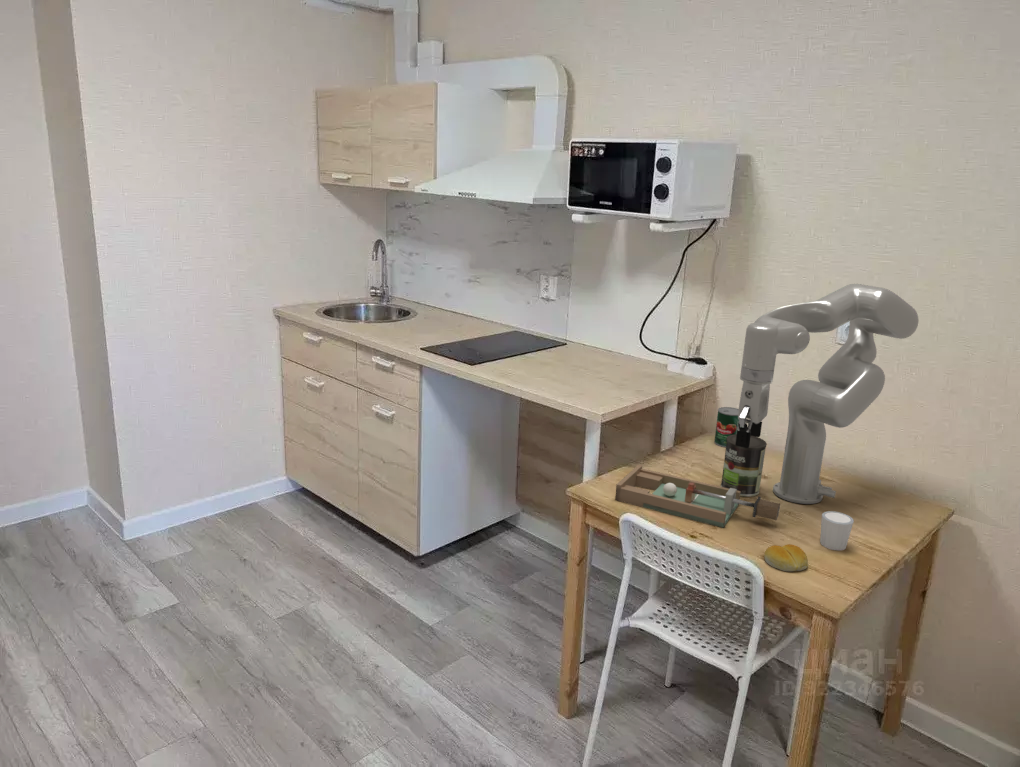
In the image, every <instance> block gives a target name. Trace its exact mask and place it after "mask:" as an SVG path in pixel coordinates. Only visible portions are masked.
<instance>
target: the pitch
mask: <svg viewBox="0 0 1020 767" xmlns="http://www.w3.org/2000/svg"><path fill="white" fill-rule="evenodd" d="M690 482H693V483H695V486H696V490H701V491H705V492H709V493H713V494H718V495H722V496H725V501H724V500H720V499H715V498H711V497H707V496H703V495H699V494H695V498H694V500H693V501H692V502H691V503H689V502H685V494H686V489H687V488H688V484H689V483H690ZM667 483H673V484H674V485H675V486H676V488H677V492H676V494H675V495H674V496H667V495H665V494H664V492H663V487H664V485H665V484H667ZM643 488H644V489H643ZM650 490H651V491H652V490H653V492H652V493H650ZM740 493H741V491H737V489H734V488H730V489H729V488H724V487H721V485H715V484H710V483H707V482H704V481H703V482H702V481H698V480H694V479H690V478H685V477H680V476H677V475H672V474H667V473H663V472H659V471H654V470H650V469H645V468H643V465H641V464H637V465H636V466H635V467H634V468H633V469H632V470H631V471H629V472H628V473H627V474H626V475H625V476H624V477H623V478H622V479H621V480H620V481H618V482H617V483H616V485H615V496H614V497H615V499H614V501H617V502H621V503H625V504H628V505H632V506H633V505H634V506H636V507H641V508H644V509H648V510H652V511H657V512H660V513H663V514H664V513H665V514H668V515H670V516H671V515H673V516H676V517H680V518H684V519H687V520H691V521H695V522H699V523H703V524H707V525H711V526H715V527H719V528H721V529H722V528H723V529H724V528H725V526H726V525H727V523H728V521H729V520H730V519H731V517H732V515H733V514H734V513H735V511H736V509H737V508H738V506H739V505H740V504H736V503H732V502H733V498H734V499H739V500H741V499H740V498H741V496H740Z"/></svg>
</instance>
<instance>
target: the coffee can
mask: <svg viewBox="0 0 1020 767" xmlns="http://www.w3.org/2000/svg"><path fill="white" fill-rule="evenodd" d="M736 436H737V434H734V435H730V436H728V437H727V439H726V441H727V444H726V447H725V453H724V462H723V468H722V469H723V470H722V476H721V482H720V487H724V488H729V489H730V488H734V489H737V491H741V493H740V497H743V498H745V497H755V496H758V495H759V494H760V488H761V482H762V475H763V467H764V461H765V455H766V448H767V445H768V444H767V441H766V440H764V439H763V438H760V437H755V436H751V437H750V444H749V447H748V448H744V447H740V446H736V445H735V443H736Z"/></svg>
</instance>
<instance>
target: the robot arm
mask: <svg viewBox="0 0 1020 767" xmlns="http://www.w3.org/2000/svg"><path fill="white" fill-rule="evenodd" d="M847 323H849V325H848V326H849V327H848V334H847V339H846V340H845V342H844V343H843V344H842V345H841V347H840V348H838V349H837V350H836V351H835V353H833V355H831V356H830V358H828V359H827V360H826V361H825V362H824V363H823V365H822V366H821V367H820V369H819V370H818V373H817V378H818V381H817V380H813V379H812V380H811V379H802V380H799V381H797V382H795V383H794V384H793V385H792V387H791V388H790V389H789V391H788V398H787V406H788V426H787V433H786V439H785V445H784V452H783V460H782V465H781V474H780V479H779V480H780V481H778V482H776V483H775V484H773V486H772V492H773V493H774V495H776V496H777V497H779V498H780V499H782V500H784V501H788V502H791V503H795V504H800V505H801V504H803V505H814V504H817V503H818V504H819V503H820V502H821V501H823V497H828V498H832V499H835V498H836V492H837V491H836V490H833V487H831V486H825V485H823V484H822V479H820V476H821V470H822V464H823V459H824V457H823V456H824V452H825V446H826V440H827V429H826V426H825V424H826V425H828V426H830V427H835V428H839V429H841V428H846V427H848V426H850V425H852V423H854V422H855V421H856V420H857V419H858V418H859V417H860V416H861V415H862V414H863V412H865V410H867V409H868V408H869V407H870V406H871V405H872V404H873V403H874V401H875V400H876V399H878V397H879V395H880V394H881V393H882V391H883V389H884V385H885V381H886V374H885V373H884V370H883V369H882V368H881V367H880V366H879V365H877V364H875V363H873V362H874V361H875V359H876V357H877V345H876V343H875V337H874V334H877V335H880V336H884V337H889V338H893V339H900V340H902V339H907V338H909V337H912V335H913V334H914V333H915V332H916V330H917V329H918V326H919V316H918V313H917V310H916V309H915V308H914V307H913V306H912V305H911V304H910V303H908V302H907V301H906V300H904V299H903V298H902V297H901V296H899V295H898V294H896V293H895V292H894V291H892V290H891V289H887V288H884V287H879V286H873V285H866V284H862V283H851V284H847V285H845V286H843V287H841V288H838V289H837V290H834V291H833V292H831V293H828V294H826V295H824V296H823V297H821V298H819V299H816V300H811V301H804V302H801V303H800V302H799V303H794V304H790V305H789V304H788V305H784V306H780V307H777V308H774V309H772V310H770V311H768V312H766V313H764V314H762V315H761V316H759V317H758V318H757V319H756V320H754V322H752V323H750V324H748V325H747V327H746V330H745V336H744V337H745V338H744V346H743V354H742V360H741V361H742V362H741V367H740V368H741V369H740V375H739V376H740V377H739V379H740V380H741V381H742V387H741V391H740V396H739V398H740V399H739V403H738V404H739V405H738V409H739V411H738V419H739V423H738V428H737V436H736V443H735V445H736V446H740V447H744V448H748V447H749V444H750V437H751V436H755V437H758V438H760V437H761V435H762V434H761V432H762V426H763V425H762V424H763V420H764V419H765V418H766V417H767V415H768V412H769V402H770V400H769V399H770V390H771V389H770V388H771V384H773V382H774V381H773V379H774V375H775V374H774V373H775V366H776V359H777V355H778V354H781V355H782V354H784V355H796V354H800V353H801V352H803V351H805V350H806V348H807V347H809V346H808V345H809V344H810V339H811V337H810V333H812V334H813V333H815V334H816V333H817V334H818V333H828V332H832V331H834V330H836V329H838V328H839V327H842V326H843V325H845V324H847Z"/></svg>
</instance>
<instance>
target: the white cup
mask: <svg viewBox="0 0 1020 767" xmlns="http://www.w3.org/2000/svg"><path fill="white" fill-rule="evenodd" d="M854 522H855V521H854V518H853V517H852V516H850V515H848V514H845V513H843V512H840V511H835V510H830V511H829V510H828V511H825V512H822V514H821V523H820V539H819V541H820V542H819V543H820V544H821V545H822V547H824V548H826V549H829V550H831V551H844V550H846V549H847V545H848V543H849V542H848V541H849V538H850V535H851V531H852V528H853V525H854Z"/></svg>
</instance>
